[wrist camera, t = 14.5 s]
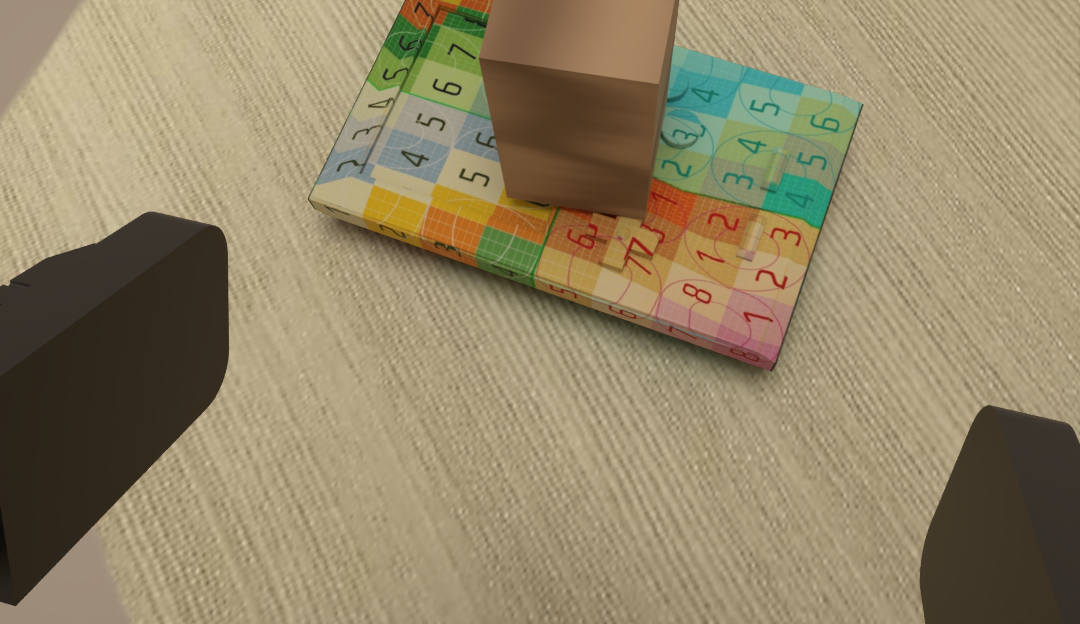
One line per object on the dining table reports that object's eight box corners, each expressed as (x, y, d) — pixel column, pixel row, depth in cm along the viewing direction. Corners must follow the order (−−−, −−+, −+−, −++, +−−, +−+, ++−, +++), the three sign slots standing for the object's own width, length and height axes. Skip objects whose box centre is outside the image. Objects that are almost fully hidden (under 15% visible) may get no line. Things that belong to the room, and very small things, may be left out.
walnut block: (667, 97, 41) (687, -69, 32) (644, 219, 40) (658, 84, 30) (534, 77, 42) (515, -91, 32) (507, 197, 40) (478, 57, 31)
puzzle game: (780, 357, 38) (301, 189, 41) (762, 386, 42) (331, 233, 45) (869, 92, 41) (416, -44, 44) (843, 145, 45) (433, 18, 48)
